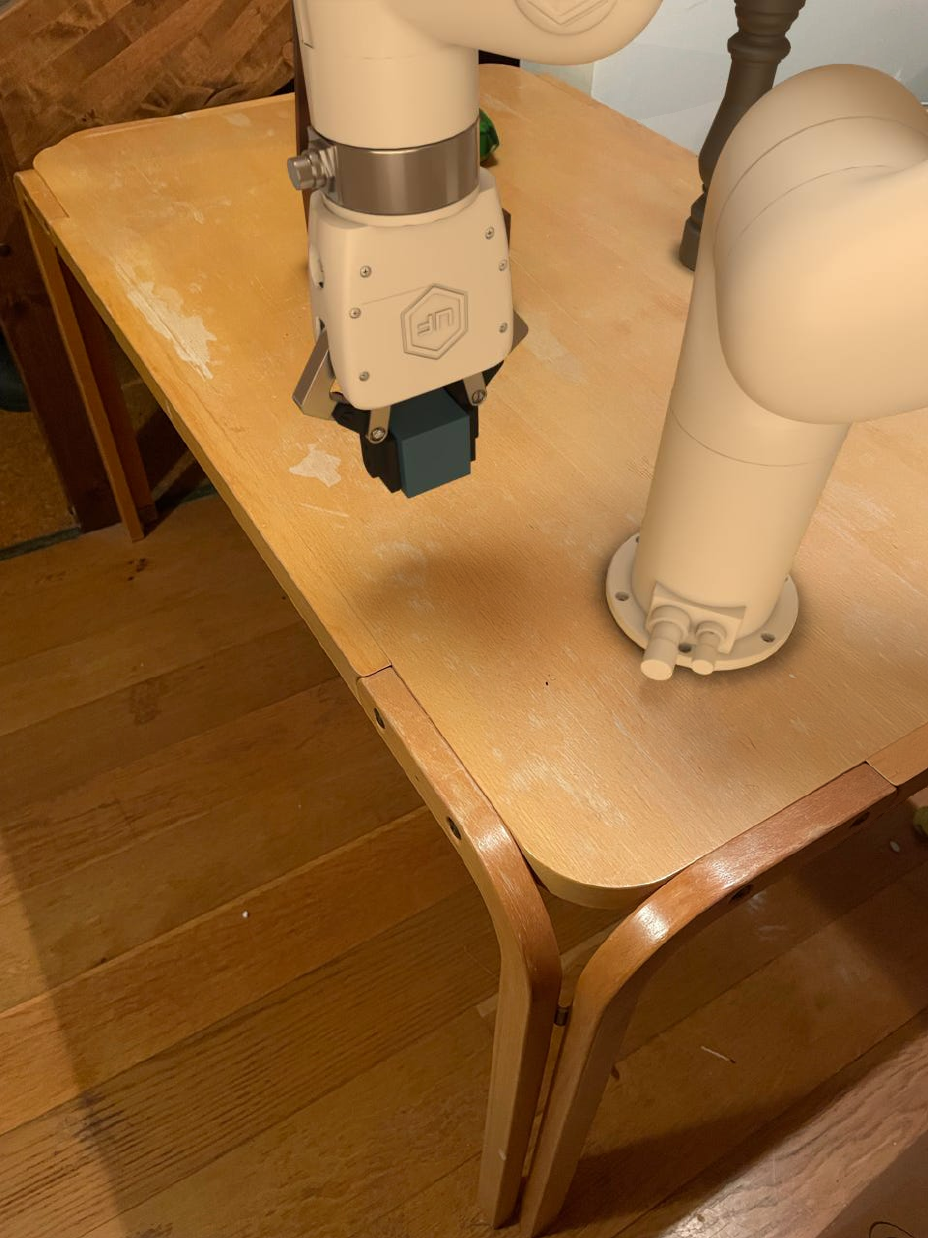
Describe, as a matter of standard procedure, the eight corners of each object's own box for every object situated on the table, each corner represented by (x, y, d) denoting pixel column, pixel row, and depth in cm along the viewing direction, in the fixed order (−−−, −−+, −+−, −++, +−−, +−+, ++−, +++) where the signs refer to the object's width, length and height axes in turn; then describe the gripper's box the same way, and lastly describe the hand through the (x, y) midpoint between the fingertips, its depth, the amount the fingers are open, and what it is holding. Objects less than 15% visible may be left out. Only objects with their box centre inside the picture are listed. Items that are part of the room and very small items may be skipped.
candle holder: (719, 281, 86) (795, -29, 67) (666, 259, 89) (723, -46, 70) (753, 257, 89) (834, -47, 70) (700, 236, 92) (764, -62, 73)
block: (471, 474, 55) (469, 415, 51) (408, 499, 53) (402, 441, 50) (436, 435, 57) (433, 377, 54) (375, 458, 56) (367, 400, 53)
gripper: (257, 241, 36) (323, 553, 50) (596, 143, 42) (570, 451, 56) (196, 172, 41) (272, 477, 55) (511, 91, 46) (507, 389, 60)
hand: (422, 461), depth 55 cm, fingers closed on block, 4 cm apart
